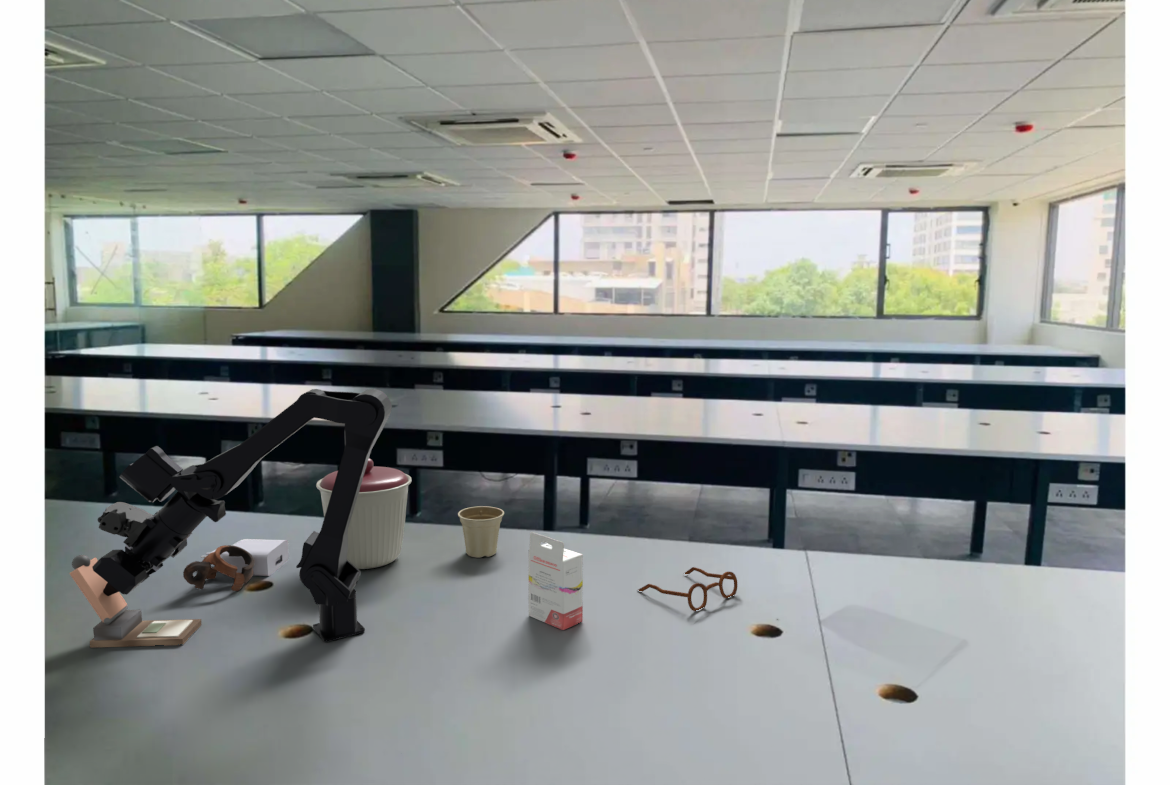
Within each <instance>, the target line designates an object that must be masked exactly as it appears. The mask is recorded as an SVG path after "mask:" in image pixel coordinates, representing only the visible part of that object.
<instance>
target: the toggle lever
mask: <svg viewBox="0 0 1170 785" xmlns="http://www.w3.org/2000/svg"><path fill="white" fill-rule="evenodd" d="M98 560H99V559H98V558H97V557H94V558H92V559H91V558H90V557H89V556H88V555H85V554H78V555H76V556H74V558H72V561H71V566H72V568H73V570H72V571H71V572H68V574H69V575H70V577H71V578H72V580H73V581H74V583H75V584H76V585H77V587H78V588H79V590H80V591H81V592H82V594H83V595H84V597H85V598H86V600H87V601H88V603H89V604H90V605H91V607H92V609H93V611H94V612H95V613H96V615H97V616H98V617H99V619H100V620H101V621H102V622H104V623H105V624H110V623H111V622H112V621H113V620H114V619H116V618H117V617H118V616H119V615H120V614H122V613H123V612H124V611H125V610H128V608H129V607H128V603H127V602H126V600H125V598H124V597H123V596H122V593H120V592H117V593H115V594H112V595H110V596H107V595H105V594H104V593H103V590H104V588H105V586H106V584H107V581H105V580H104V579H103V578H102V577H100V576H99V575H98V574H97V573H95V572H94V571H93V568H92V567H93V565H94V564H95V563H96V562H97V561H98Z"/></svg>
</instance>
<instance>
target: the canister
mask: <svg viewBox="0 0 1170 785" xmlns="http://www.w3.org/2000/svg"><path fill="white" fill-rule="evenodd" d="M337 472H338V470H335V471H333V472H330V473H328V474H326V475H325V476H324V477H323V478H321V479H319V480H317V481H316V484H315V486H316V488H317V490H319V492H320V497H321V505H322V511H323V518H324V517H325V514H326V510H327V507H328V504H329V500H330V497H331V493H332V490H333V486H334V483H335V479H336V476H337ZM411 483H412V477H411V476H410V475H409V474H407V473H404V472H403V471H402V470H399V469H397V468H394V467H389V466H387V467H386V466H374V461H373V459H371V458H370V457H369V459H368V463H367V466H366V470H365V473H364V476H363V480H362V483H361V487H360V490H359V493H358V497H357V500H356V504H355V507H354V511H353V514H352V517H351V521H350V524H349V528H348V551H347V560H348V561H349V562H351V563H352V564H353V565H354V566H355V567H356V568H358V569H359V570H365V569H367V570H368V569H374V568H375V569H376V568H380V567H383V566H386V565H388V564H390V563H393V562H394V561H395V560H396V559H398V557H399V556H400V554H401V552H402V547H403V541H404V533H405V525H406V515H407V503H408V491H409V485H410V484H411Z"/></svg>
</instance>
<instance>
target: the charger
mask: <svg viewBox="0 0 1170 785" xmlns="http://www.w3.org/2000/svg"><path fill="white" fill-rule="evenodd" d="M231 545H232V546H237V547H240V548H242V549H244V550H246V551H247V552H249V553H250V554H251V555H252V556H253V558H254V560H255V563H254V566H253V572H254V573H253V576H257V577H259V576H260V577H269V576H270V577H271V576H272V575H273V574H274V573H276V571H278V570H279V569H280V568H281V567H283V566H284V565H285V564H286V563H288V561H289V560H290V553H289V552H290V551H289V550H290V549H289V548H290V546H289V545H290V544H289V541H288V539H259V538H257V539H256V538H255V539H254V538H251V539H250V538H242V539H241V540H238V541H236V542H234V544H231ZM215 551H216V549H214V550H212V551H210V552H205V555H200V558H201V559H204V558H205V557H206V556H207V555H209V554H210V553H212V552H215ZM220 556H221V558H222V559H223V560H224V561H226V562H227V563H229V564H231V565H234V566H236V567H237V571H236V572H237V573H241V572H242V568H243V567H246V566H248V564H245V561H244V559H243V557H242V556H239V557H237V556H229V553H228V552H223V553H222V554H221V555H220ZM223 575H224V576H227V575H226V574H223ZM253 576H252V577H253Z"/></svg>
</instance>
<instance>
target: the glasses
mask: <svg viewBox="0 0 1170 785" xmlns="http://www.w3.org/2000/svg"><path fill="white" fill-rule="evenodd" d="M694 571H695V572H698V573H701V574H702V575H703V576H705V577H707V578H714V579H718V580H719V581H718V582H712V583H709V584H707V586H706V585H705V584H703V583H701V582H700V583H699V582H695V583H693V584H692V585H691V586H690V587H689V589H688V591H687V593H686V592H682V591H681V592H680V591H674V590H668V589H663V588H662V587H660V586H657V585H656V584H652V583H647V584H645V585H644V586H642V587H641V588H639V589H637V590H639V591H642V592H644V591H646V590H648V589H653V590H656V591H657V592H659V593H660V594H663V595H669V596H676V597H681V598H682V597H683V598H687V604H688V607H689V609H690V610H691V611H693V612H696V610H699V609H701V608H703V607H704V608H706V605H707V602H708V590H711V589H713V588H715V587H718V588H719V592H720V595H721V597H722V598H723V599H726V598H728V597H730V596H733V595H734V596H735V595H736V593H737V591H738V579H737V575H736V574H735V573H734V572H733V571H725V572H724V573H722V574H718V573H710V572H707V571H705V570H703V569H702V568H699V567H695V566H693V567H690V569H688V570H686V571H685V572H684V573H685V574H689V575H690V574H691V573H693V572H694ZM724 580H731V581H733V590H732V591H731V593H730V594H725V591H724V586H723V583H724ZM696 588H701V589H702V593H703V600H702V603H701V605H699V607H695V606H694V604H693V602H692V595H693V591H694V590H695V589H696ZM734 596H733V597H734Z"/></svg>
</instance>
